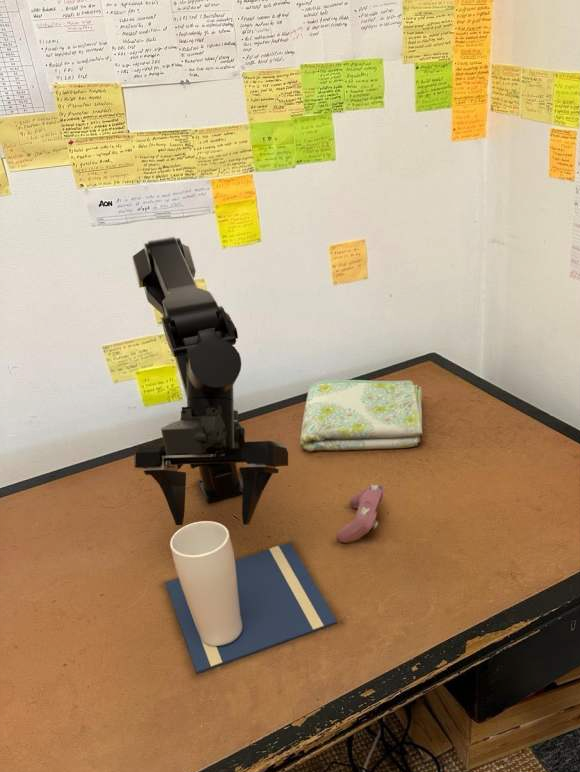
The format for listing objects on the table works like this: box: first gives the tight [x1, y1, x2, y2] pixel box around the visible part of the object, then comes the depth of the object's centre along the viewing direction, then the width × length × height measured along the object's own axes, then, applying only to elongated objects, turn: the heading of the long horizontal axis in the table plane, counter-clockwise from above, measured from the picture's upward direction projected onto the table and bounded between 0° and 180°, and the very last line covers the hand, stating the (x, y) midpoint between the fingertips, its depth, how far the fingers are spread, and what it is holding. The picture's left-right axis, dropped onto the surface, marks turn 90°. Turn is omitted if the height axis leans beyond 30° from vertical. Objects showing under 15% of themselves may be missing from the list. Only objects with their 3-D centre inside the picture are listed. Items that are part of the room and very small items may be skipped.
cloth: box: [165, 542, 338, 675], centre depth 98 cm, size 18×18×1 cm
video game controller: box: [336, 483, 386, 544], centre depth 108 cm, size 10×5×7 cm, turn 168°
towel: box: [299, 379, 423, 452], centre depth 132 cm, size 18×21×5 cm
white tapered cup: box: [169, 520, 242, 646], centre depth 89 cm, size 7×7×15 cm
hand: (212, 524), depth 94 cm, fingers open, 9 cm apart
